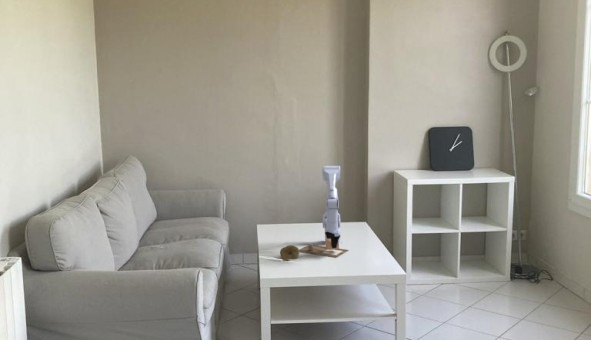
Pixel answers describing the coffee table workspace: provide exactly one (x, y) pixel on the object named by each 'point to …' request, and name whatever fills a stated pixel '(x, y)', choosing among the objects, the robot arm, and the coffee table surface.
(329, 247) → the salmon pink cube
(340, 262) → the coffee table surface
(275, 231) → the coffee table surface
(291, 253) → the fossil
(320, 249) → the post board
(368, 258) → the coffee table surface
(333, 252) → the mat
